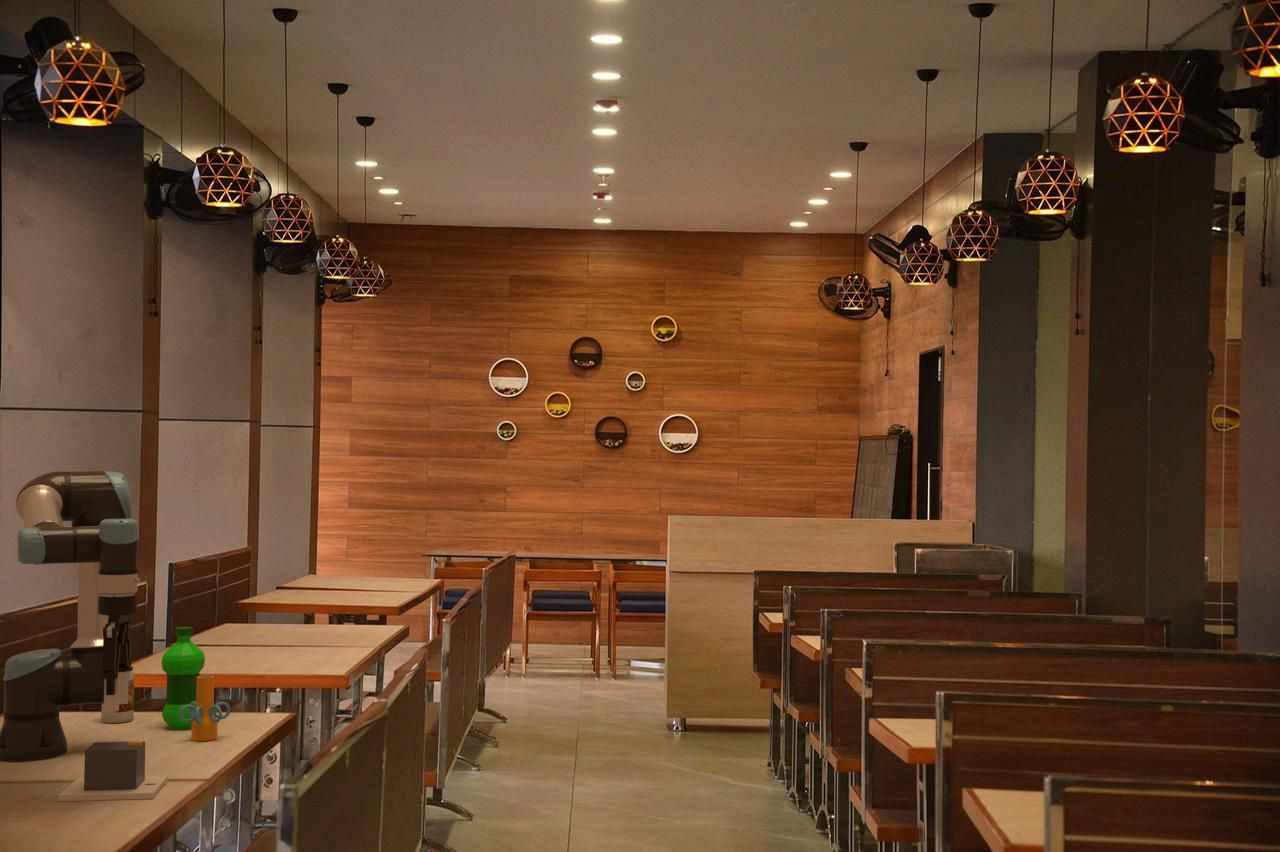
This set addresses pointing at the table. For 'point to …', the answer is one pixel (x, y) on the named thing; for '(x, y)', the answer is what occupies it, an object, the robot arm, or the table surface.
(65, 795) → the board
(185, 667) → the plastic bottle
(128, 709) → the milk bottle
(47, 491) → the robot arm
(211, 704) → the orange tube with rings
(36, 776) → the table surface
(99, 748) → the dark grey block
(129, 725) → the table surface
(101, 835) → the table surface
